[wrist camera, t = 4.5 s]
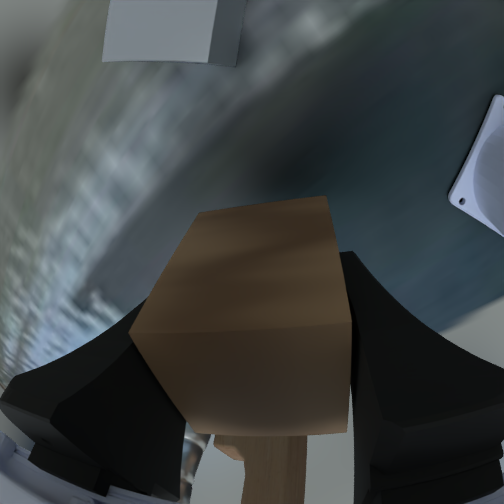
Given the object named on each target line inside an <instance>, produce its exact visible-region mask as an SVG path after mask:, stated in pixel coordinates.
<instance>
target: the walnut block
mask: <svg viewBox="0 0 504 504" xmlns="http://www.w3.org/2000/svg"><path fill="white" fill-rule="evenodd" d="M128 333H129V335H130V337H131V338H132V340H133V342H134V343H135V345H136V347H137V348H138V350H139V352H140V353H141V355H142V356H143V358H144V360H145V361H146V363H147V364H148V366H149V368H150V369H151V371H152V372H153V374H154V375H155V377H156V378H157V380H158V381H159V383H160V384H161V386H162V387H163V389H164V390H165V392H166V393H167V395H168V396H169V397H170V399H171V400H172V402H173V403H174V405H175V406H176V407H177V409H178V410H179V412H180V413H181V414H182V416H183V417H184V418H185V420H186V421H187V422H188V424H189V425H190V426H191V428H192V429H193V430H194V432H195V433H203V434H216V435H234V436H303V435H321V434H334V433H344V432H347V424H348V411H349V396H350V377H351V346H352V320H351V314H350V308H349V302H348V297H347V291H346V286H345V280H344V275H343V270H342V265H341V260H340V255H339V250H338V246H337V241H336V236H335V232H334V227H333V223H332V218H331V214H330V210H329V206H328V202H327V197H326V195H325V196H316V197H308V198H300V199H292V200H284V201H276V202H269V203H261V204H254V205H247V206H240V207H233V208H227V209H220V210H214V211H207V212H201V213H199V214H198V215H197V217H196V218H195V220H194V222H193V223H192V225H191V226H190V228H189V230H188V231H187V233H186V234H185V236H184V238H183V239H182V241H181V242H180V244H179V246H178V247H177V249H176V251H175V252H174V254H173V256H172V257H171V259H170V261H169V262H168V264H167V266H166V267H165V269H164V271H163V272H162V274H161V276H160V277H159V279H158V281H157V283H156V284H155V286H154V288H153V289H152V291H151V293H150V295H149V296H148V298H147V300H146V302H145V303H144V305H143V307H142V309H141V311H140V312H139V314H138V316H137V318H136V320H135V321H134V323H133V325H132V327H131V329H130V330H129V332H128Z"/></svg>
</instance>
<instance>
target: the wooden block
mask: <svg viewBox="0 0 504 504" xmlns="http://www.w3.org/2000/svg"><path fill="white" fill-rule="evenodd" d="M214 446H215V447H216V448H217V449H219V450H220V451H222V452H223V453H225V454H226V455H228V456H229V457H231V458H232V459H234V460H240V461H244V467H245V481H244V487H243V494H242V500H241V504H304V495H305V479H306V458H307V435H303V436H234V435H216V434H215V438H214Z"/></svg>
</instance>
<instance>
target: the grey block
mask: <svg viewBox="0 0 504 504" xmlns="http://www.w3.org/2000/svg"><path fill="white" fill-rule="evenodd" d="M246 2H247V0H110V6H109V12H108V18H107V25H106V32H105V40H104V48H103V58H102V62H119V61H138V62H176V63H195V64H209V65H220V66H230V67H236V61H237V55H238V49H239V43H240V37H241V31H242V25H243V19H244V13H245V8H246Z"/></svg>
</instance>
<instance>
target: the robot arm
mask: <svg viewBox="0 0 504 504" xmlns="http://www.w3.org/2000/svg"><path fill="white" fill-rule="evenodd" d="M503 107H504V97H503V96H502V95H495V96H494V97H493V100H492V102H491V105H490V107H489V110H488V112H487V115H486V117H485V119H484V122H483V124H482V126H481V129H480V131H479V133H478V135H477V138H476V140H475V142H474V144H473V146H472V149H471V151H470V153H469V155H468V157H467V159H466V161H465V163H464V165H463V167H462V169H461V171H460V173H459V175H458V177H457V179H456V181H455V183H454V185H453V187H452V189H451V190H450V192H449V195H448V199H449V201H450V202H451V203H452V204H453V205H454V206H456V207H458V208H459V209H461V210H463V211H464V212H466V213H468V214H469V215H471V216H472V217H474V218H476V219H477V220H479V221H480V222H482V223H483V224H485V225H486V226H488V227H490V228H491V229H493V230H494V231H496V232H497V233H499V234H500V235H501V236H503V237H504V108H503ZM461 198H463V201H462V202H461V203H459V200H460V199H461ZM339 255H340V260H341V265H342V270H343V275H344V280H345V286H346V291H347V297H348V302H349V308H350V314H351V320H352V346H351V377H350V386H351V394H352V407H353V427H354V504H504V473H503V474H502V470H501V466H500V461H499V459H501V458H502V457H503V449H502V445H501V442H502V441H503V440H504V369H503V368H501V367H499V366H497V365H494V364H492V363H490V362H488V361H485V360H483V359H481V358H479V357H477V356H475V355H473V354H471V353H469V352H468V351H466V350H464V349H462V348H460V347H458V346H457V345H455V344H453V343H452V342H450V341H448V340H447V339H445V338H444V337H442V336H441V335H439V334H438V333H436V332H435V331H433V330H432V329H430V328H429V327H428V326H426V325H425V324H424V323H422V322H421V321H420V320H418V319H417V318H416V317H415V316H413V315H412V314H411V313H410V312H409V311H408V310H406V309H405V308H404V307H403V306H402V305H401V304H400V303H399V302H398V301H397V300H396V299H395V298H394V297H393V296H392V295H391V294H390V293H389V292H388V291H387V290H386V289H385V288H384V287H383V286H382V285H381V284H380V283H379V282H378V281H377V280H376V279H375V277H374V276H373V275H372V274H371V273H370V272H369V270H368V269H367V268H366V267H365V266H364V264H363V263H362V262H361V260H360V259H359V258H358V256H357V255H356V254H355V253H354V252H353V251H348V252H339ZM147 298H148V297H147ZM147 298H146V299H145V300H144V301H143V302H142V303H141V304H139V305H138V306H137V307H136V308H134V309H133V310H132V311H131V312H130V313H128V314H127V315H126V316H125V317H123V318H122V319H121V320H120V321H118V322H117V323H116V324H114V325H113V326H112V327H110V328H109V329H108V330H106V331H105V332H103V333H102V334H100V335H99V336H97V337H96V338H94V339H93V340H91V341H89V342H88V343H86V344H84V345H83V346H81V347H79V348H78V349H76V350H74V351H72V352H71V353H69V354H67V355H65V356H63V357H61V358H59V359H57V360H55V361H52V362H50V363H48V364H46V365H43V366H41V367H39V368H36V369H33V370H31V371H28V372H25V373H22V374H20V375H16V376H15V377H14V378H13V379H12V380H11V381H10V383H9V385H8V386H7V388H6V389H5V391H4V393H3V394H2V396H1V398H0V409H1V411H2V412H3V413H4V414H5V416H6V417H7V418H8V419H9V420H10V421H11V422H12V423H14V424H15V425H16V426H17V427H18V428H19V429H20V430H21V431H22V432H23V433H25V434H26V435H27V436H28V437H29V438H30V439H32V440H33V441H34V442H35V445H34V447H33V449H32V451H31V452H30V451H28V450H26V449H24V448H22V447H20V446H18V445H17V444H16V443H15V442H14V441H13V440H12V439H10V438H9V437H8V436H7V435H6V434H4V433H3V432H2V431H0V504H182V503H177V502H178V501H179V500H180V481H181V464H182V453H183V443H184V436H185V429H186V422H187V421H186V420H185V418H184V417H183V416H182V414H181V413H180V412H179V410H178V409H177V407H176V406H175V405H174V403H173V402H172V400H171V399H170V397H169V396H168V395H167V393H166V392H165V390H164V389H163V387H162V386H161V384H160V383H159V381H158V380H157V378H156V377H155V375H154V374H153V372H152V371H151V369H150V368H149V366H148V364H147V363H146V361H145V360H144V358H143V356H142V355H141V353H140V352H139V350H138V348H137V347H136V345H135V343H134V342H133V340H132V338H131V337H130V335H129V333H128V332H129V330H130V329H131V327H132V325H133V323H134V321H135V320H136V318H137V316H138V314H139V312H140V311H141V309H142V307H143V305H144V303H145V302H146V300H147Z"/></svg>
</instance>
